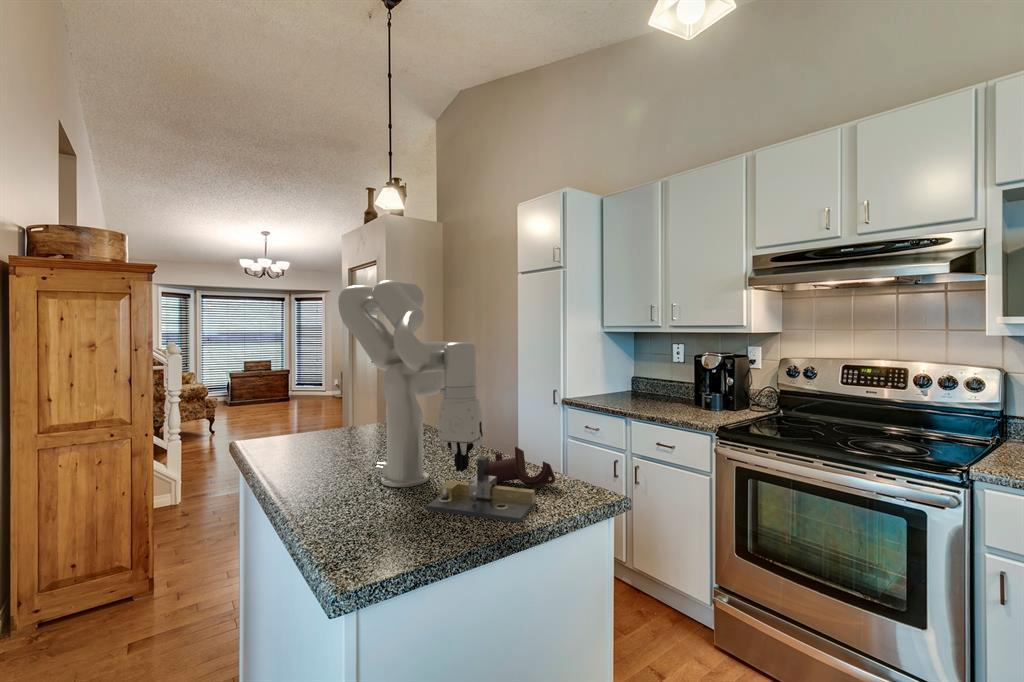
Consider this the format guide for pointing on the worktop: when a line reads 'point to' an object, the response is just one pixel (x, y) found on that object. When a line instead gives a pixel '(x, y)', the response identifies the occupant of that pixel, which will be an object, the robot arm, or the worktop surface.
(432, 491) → the worktop surface
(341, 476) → the worktop surface
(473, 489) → the slider
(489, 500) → the hole plate
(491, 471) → the bracket
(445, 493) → the beam
